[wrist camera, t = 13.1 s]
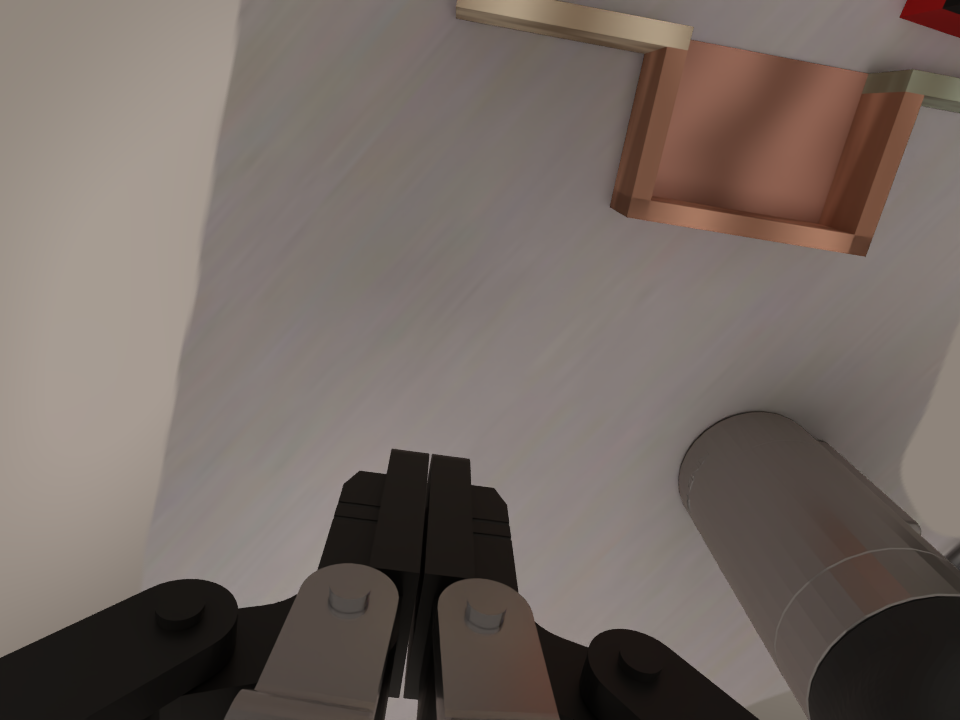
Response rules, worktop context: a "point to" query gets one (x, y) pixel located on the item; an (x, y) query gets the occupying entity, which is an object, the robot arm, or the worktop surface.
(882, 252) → the worktop surface
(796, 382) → the worktop surface
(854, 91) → the open sectioned tray
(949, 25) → the puzzle toy
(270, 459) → the worktop surface
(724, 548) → the robot arm
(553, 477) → the worktop surface
